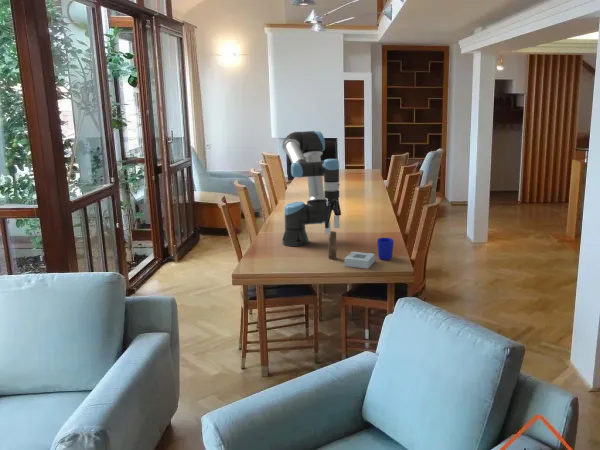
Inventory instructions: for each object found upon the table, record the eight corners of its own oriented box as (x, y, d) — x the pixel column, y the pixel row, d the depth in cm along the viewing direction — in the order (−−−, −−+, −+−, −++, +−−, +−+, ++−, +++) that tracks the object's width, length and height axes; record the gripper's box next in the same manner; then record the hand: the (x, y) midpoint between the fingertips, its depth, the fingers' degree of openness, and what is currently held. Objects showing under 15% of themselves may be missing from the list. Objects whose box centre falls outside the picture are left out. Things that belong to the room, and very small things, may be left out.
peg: (327, 258, 267) (327, 232, 263) (330, 256, 270) (329, 231, 267) (334, 259, 265) (334, 233, 262) (337, 257, 269) (337, 231, 265)
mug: (389, 253, 273) (390, 235, 270) (394, 260, 261) (395, 241, 259) (374, 254, 273) (374, 236, 270) (378, 261, 261) (378, 242, 258)
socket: (344, 266, 255) (344, 258, 254) (352, 259, 266) (352, 251, 265) (368, 268, 250) (368, 260, 249) (374, 261, 261) (374, 253, 260)
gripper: (330, 194, 246) (330, 237, 251) (346, 186, 268) (347, 225, 273) (315, 193, 249) (316, 236, 254) (333, 185, 271) (333, 224, 276)
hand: (332, 230), depth 264 cm, fingers open, 13 cm apart
